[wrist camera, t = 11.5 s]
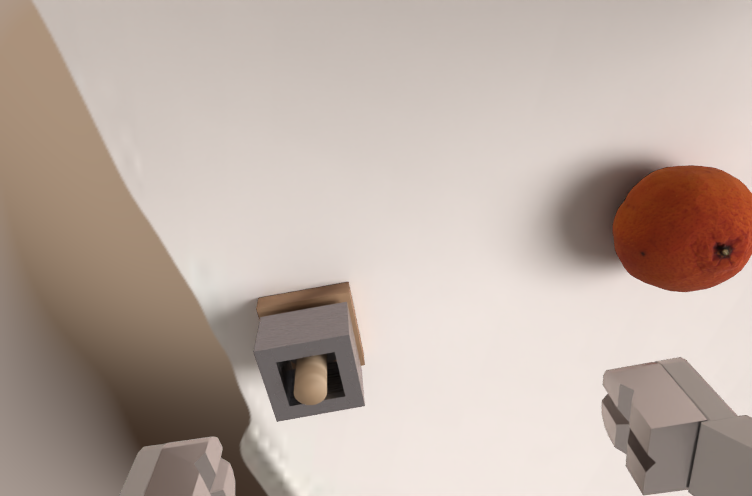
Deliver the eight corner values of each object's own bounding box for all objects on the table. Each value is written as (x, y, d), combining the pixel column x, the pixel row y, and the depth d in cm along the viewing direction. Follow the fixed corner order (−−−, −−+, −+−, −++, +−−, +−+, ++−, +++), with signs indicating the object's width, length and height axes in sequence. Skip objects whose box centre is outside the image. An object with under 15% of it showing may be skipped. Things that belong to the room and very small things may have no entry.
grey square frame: (347, 301, 37) (349, 334, 33) (361, 369, 40) (364, 405, 36) (260, 317, 37) (253, 351, 33) (281, 383, 40) (276, 421, 36)
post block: (348, 281, 39) (353, 341, 32) (363, 353, 42) (370, 421, 35) (258, 297, 39) (244, 361, 32) (280, 368, 42) (271, 438, 35)
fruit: (606, 153, 36) (676, 193, 29) (724, 152, 37) (819, 190, 30) (582, 263, 40) (638, 321, 33) (688, 260, 41) (765, 316, 34)
